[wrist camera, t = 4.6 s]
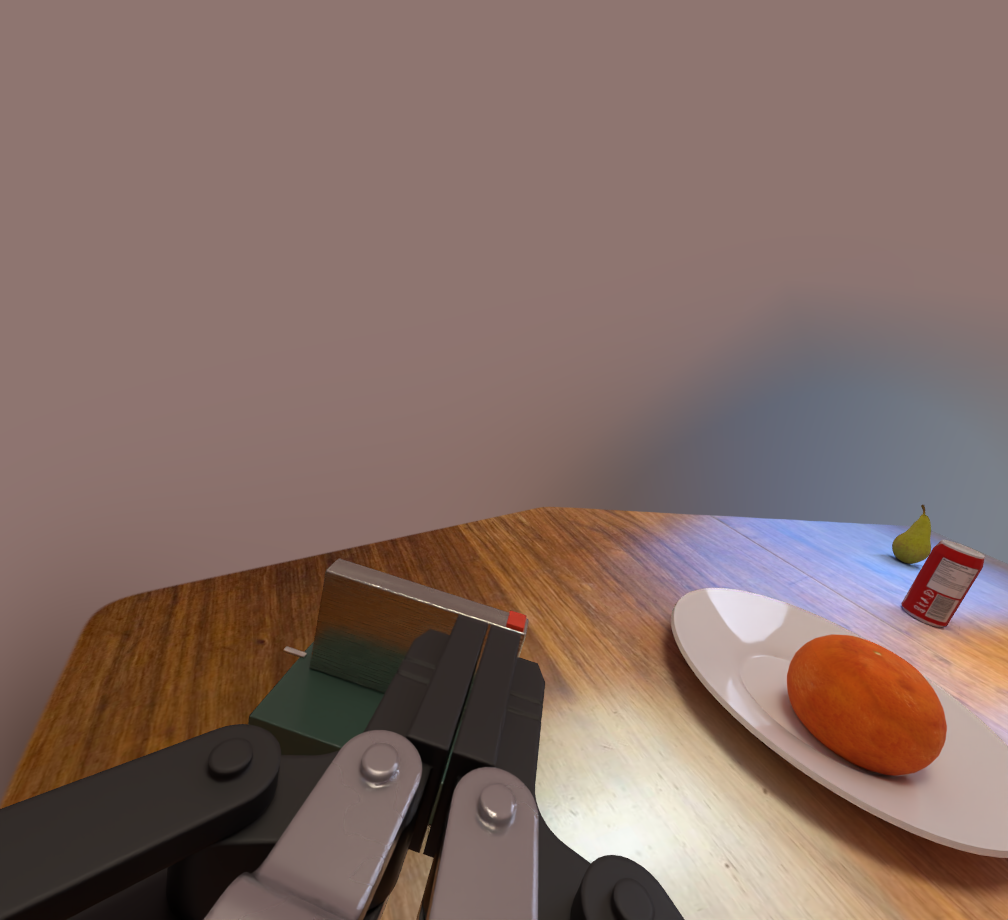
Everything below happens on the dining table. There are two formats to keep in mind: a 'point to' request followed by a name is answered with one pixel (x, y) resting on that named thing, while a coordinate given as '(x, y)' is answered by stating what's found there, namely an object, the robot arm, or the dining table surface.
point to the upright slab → (387, 623)
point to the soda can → (943, 583)
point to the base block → (318, 711)
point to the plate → (850, 716)
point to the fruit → (914, 541)
